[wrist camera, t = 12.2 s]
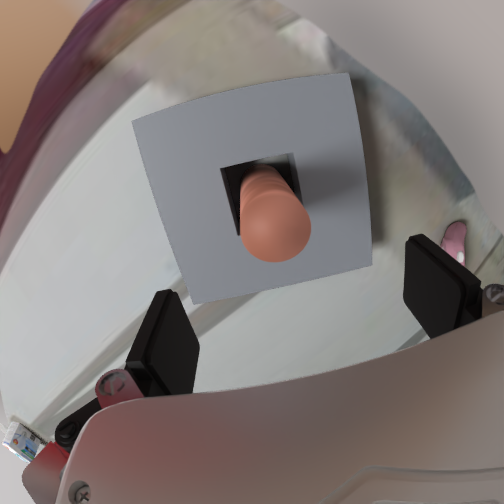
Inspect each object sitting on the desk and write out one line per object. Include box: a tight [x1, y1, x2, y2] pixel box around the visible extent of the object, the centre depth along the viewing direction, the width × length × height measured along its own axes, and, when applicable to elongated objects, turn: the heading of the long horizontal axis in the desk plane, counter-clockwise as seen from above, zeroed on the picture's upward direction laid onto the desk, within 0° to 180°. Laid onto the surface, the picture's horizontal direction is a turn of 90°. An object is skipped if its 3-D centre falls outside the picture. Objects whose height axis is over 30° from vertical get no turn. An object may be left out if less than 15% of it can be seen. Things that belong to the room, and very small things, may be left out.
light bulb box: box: [2, 421, 41, 463], centre depth 50 cm, size 11×7×11 cm, turn 21°
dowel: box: [240, 164, 311, 262], centre depth 21 cm, size 4×4×12 cm
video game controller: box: [441, 222, 467, 267], centre depth 29 cm, size 10×5×7 cm, turn 19°
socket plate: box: [132, 73, 372, 305], centre depth 25 cm, size 18×18×4 cm
